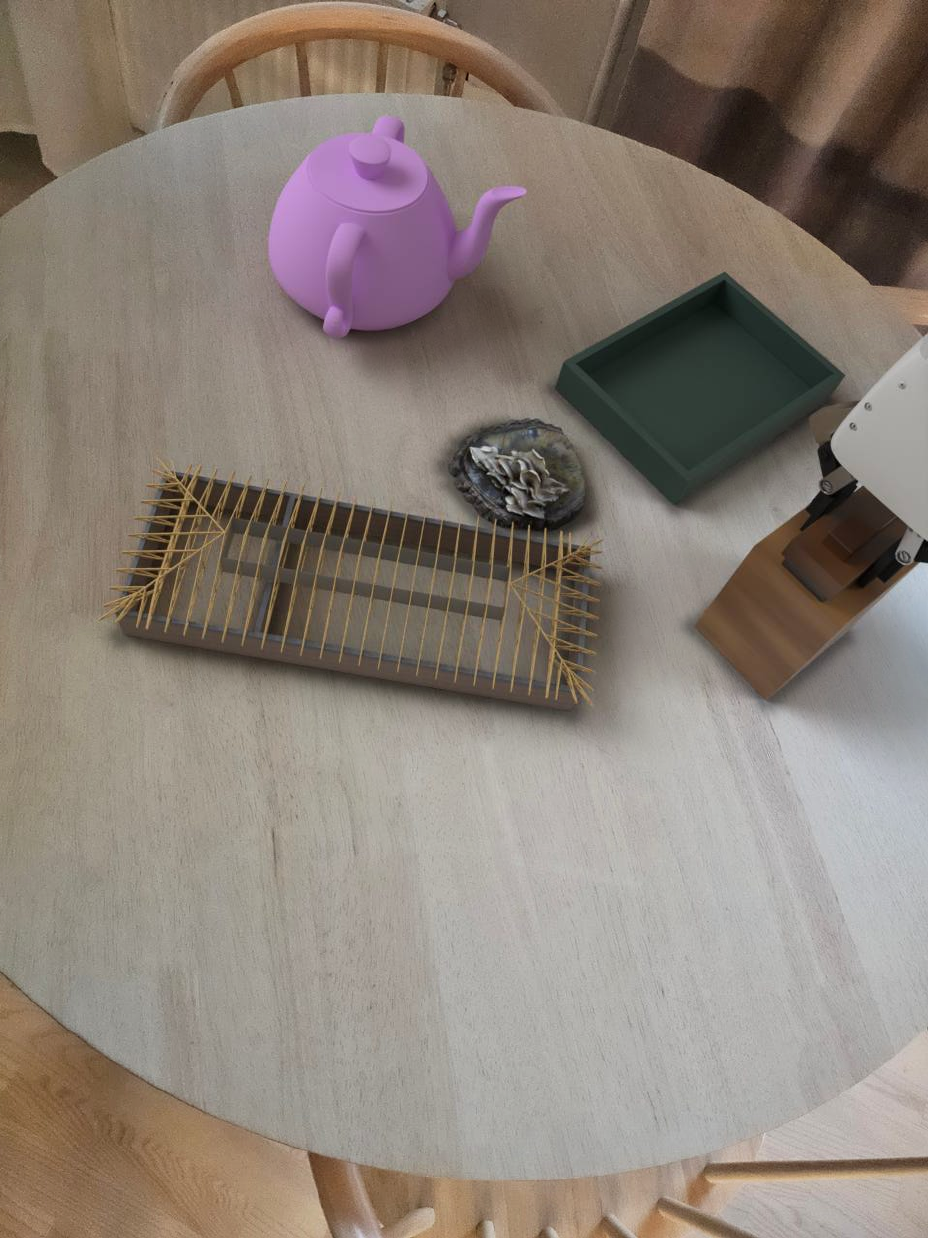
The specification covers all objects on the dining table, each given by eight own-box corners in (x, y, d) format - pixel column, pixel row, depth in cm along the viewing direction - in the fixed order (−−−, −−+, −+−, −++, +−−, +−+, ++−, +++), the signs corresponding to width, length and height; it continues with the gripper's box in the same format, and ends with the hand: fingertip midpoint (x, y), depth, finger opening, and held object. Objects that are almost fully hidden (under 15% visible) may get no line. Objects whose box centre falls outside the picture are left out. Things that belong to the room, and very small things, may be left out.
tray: (711, 298, 94) (724, 270, 91) (828, 400, 90) (845, 374, 87) (554, 388, 86) (563, 361, 83) (674, 506, 81) (688, 481, 78)
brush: (860, 495, 69) (890, 460, 65) (907, 538, 67) (941, 504, 64) (772, 563, 65) (800, 528, 61) (821, 610, 63) (852, 578, 60)
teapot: (479, 399, 84) (506, 276, 72) (238, 342, 83) (225, 208, 71) (516, 236, 95) (546, 106, 83) (304, 185, 94) (302, 45, 82)
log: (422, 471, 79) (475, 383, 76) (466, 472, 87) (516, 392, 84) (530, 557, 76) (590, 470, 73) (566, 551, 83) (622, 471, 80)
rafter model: (107, 643, 68) (89, 601, 63) (162, 484, 75) (151, 434, 70) (581, 724, 70) (603, 690, 65) (592, 562, 77) (612, 519, 72)
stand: (773, 565, 80) (841, 479, 69) (844, 634, 77) (926, 556, 67) (693, 626, 76) (754, 545, 65) (766, 700, 73) (841, 629, 63)
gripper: (1178, 439, 49) (967, 608, 65) (926, 242, 54) (787, 445, 70) (1107, 506, 46) (904, 666, 62) (847, 291, 51) (721, 491, 67)
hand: (844, 547), depth 66 cm, fingers closed on brush, 4 cm apart
